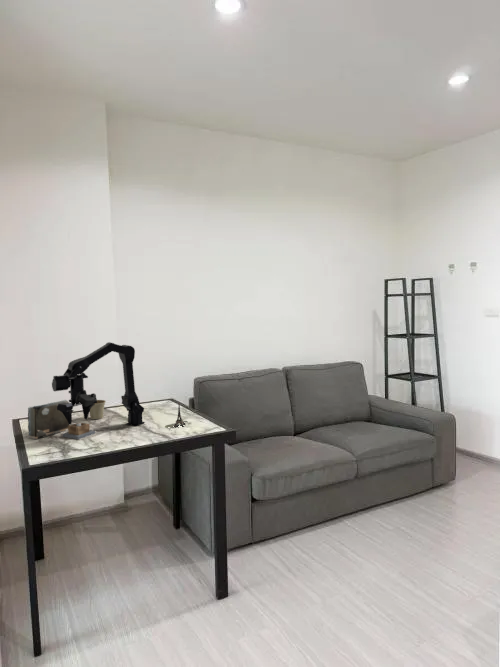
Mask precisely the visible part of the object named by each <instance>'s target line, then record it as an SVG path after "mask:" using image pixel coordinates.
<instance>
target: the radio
mask: <svg viewBox="0 0 500 667" xmlns="http://www.w3.org/2000/svg"><path fill="white" fill-rule="evenodd" d="M64 402H66V403H70V402H69V400H67V399H64V400H63V399H62V400H59V401H54V402H50V403H49V402H48V403H43V404H37V405H34V406H33V405H32V406H29V407H28V408H27V429H28V434H27V435H26V438H29V439H36V440H38V439H41V438H45V437H49V436H51V435H55V434H58V433H62V432H65V431H66V430H68V426H69V425H70V424H69V423H68V421H67V419H66V418H65V416H64V415H63V413H62V412H60V410H57V405H58V404H60V403H64Z"/></svg>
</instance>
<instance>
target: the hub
mask: <svg viewBox="0 0 500 667" xmlns="http://www.w3.org/2000/svg"><path fill="white" fill-rule="evenodd" d="M77 423H78V424H76V426H81V423H82V422H80V423H79V422H77ZM92 435H96V431H95V430H92V429H90V432H87V433H84V434H81V435H74V434H69V433H68V431H67V432H64V433H62V437H63V438H64V437H65V438H69V439H75V440H80V439H81V440H82V439H84V438H86V437H87V438H88V437H89V436H92Z"/></svg>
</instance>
